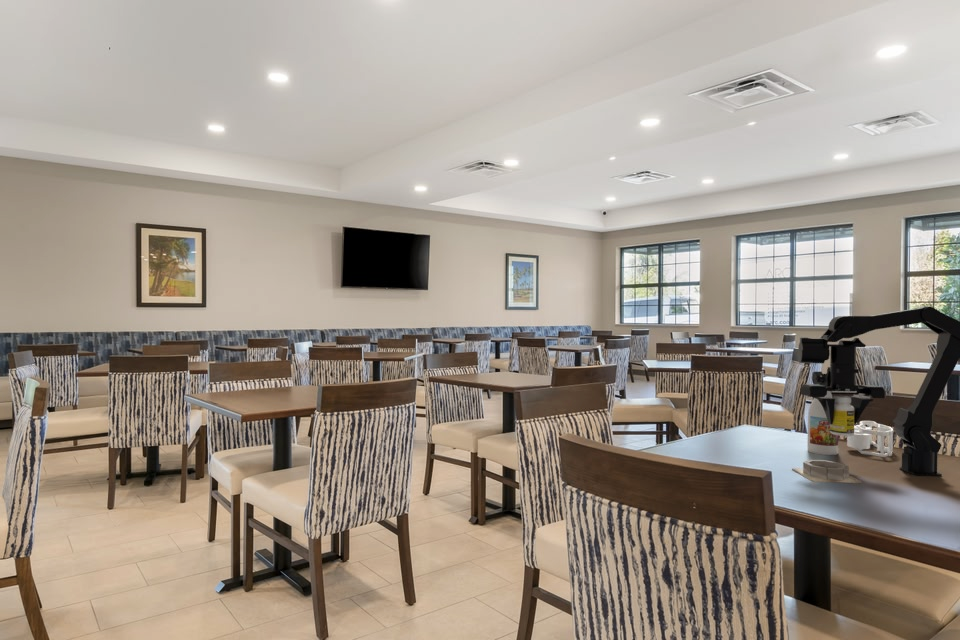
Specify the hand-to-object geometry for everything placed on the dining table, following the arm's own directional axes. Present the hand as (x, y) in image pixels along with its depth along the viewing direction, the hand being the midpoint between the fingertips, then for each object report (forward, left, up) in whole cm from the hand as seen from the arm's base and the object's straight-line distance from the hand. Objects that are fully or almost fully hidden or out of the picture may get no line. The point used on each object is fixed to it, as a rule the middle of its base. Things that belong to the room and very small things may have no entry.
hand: (842, 424), depth 157 cm
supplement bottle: (0, 0, -3) cm, 3 cm away
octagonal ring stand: (+9, +10, -12) cm, 18 cm away
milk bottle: (-4, -18, -12) cm, 22 cm away
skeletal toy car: (-21, -24, -12) cm, 33 cm away
